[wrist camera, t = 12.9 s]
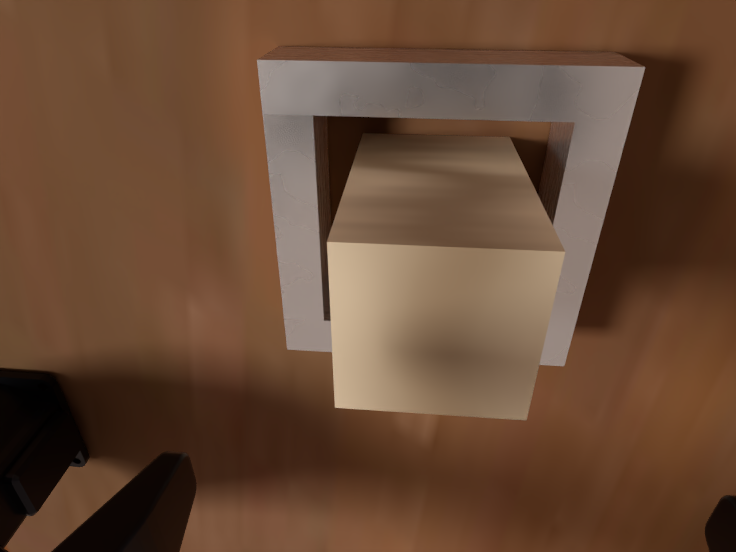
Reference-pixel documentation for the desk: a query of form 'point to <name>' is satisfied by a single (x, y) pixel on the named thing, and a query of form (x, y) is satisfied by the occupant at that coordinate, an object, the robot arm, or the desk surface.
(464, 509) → the desk surface
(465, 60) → the rectangular frame
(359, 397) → the peg
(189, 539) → the desk surface
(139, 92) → the desk surface
